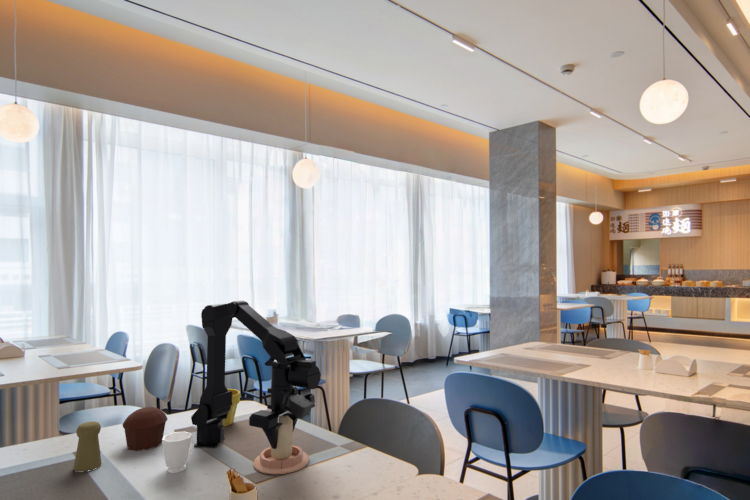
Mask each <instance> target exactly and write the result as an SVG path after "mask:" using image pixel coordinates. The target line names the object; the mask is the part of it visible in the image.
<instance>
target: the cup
mask: <svg viewBox="0 0 750 500" xmlns="http://www.w3.org/2000/svg"><path fill="white" fill-rule="evenodd" d="M161 444H162V449H163V450H162V451H163V458H164V461H165V466H166V467H167V469H166V471H167V472H168V473H171V474H173V473H181V472H182V471H185V469H186V467H187V465H186V463H187V462H188V460H189V457H190V456H191V453H192V451H193V448H194V439H193V434H192V433H191V432H188V431H184V430H183V431H174V432H171V433H168V434H165V435H163V439H162V443H161Z"/></svg>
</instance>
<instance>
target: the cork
mask: <svg viewBox="0 0 750 500" xmlns="http://www.w3.org/2000/svg"><path fill="white" fill-rule="evenodd" d="M101 430H102V426H101V424H100V422H99V421H96V420H95V421H86V422H82V423H80V424H79V425H78V427H77V429H76V431H75V432H76V434H75V435H76V436H77V438H78V441H77V448H76V454H75V459H74V463H73V464H74V465H73V469H74V470H75V471H88V470H92V471H94V470H93V469H95V468H97V469H99V468H100V467H102V465H101V464H103V463H102V456H101V448H100V440H99V434H100V432H101ZM98 467H99V468H98ZM95 470H96V469H95Z"/></svg>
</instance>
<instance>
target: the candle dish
mask: <svg viewBox="0 0 750 500" xmlns="http://www.w3.org/2000/svg"><path fill="white" fill-rule="evenodd" d="M309 461H310V458H309V455H308V453H306V452H305V451H304V450H303V449H302V448H301V446H296V445H294V444H292V455H291V456H290V457H288V458H285V459H274V458H272V457H271V446H269V447H267V448H263V450H261V452H260V454H259V455H257V457H256V458H254V460H253V469H255V470H256V471H257V472H259V473H262V474H266V475H287V474H291V473H295V472H298V471H300V470H302V469H304V468H305V467H306V466H307V465H308V464H309Z"/></svg>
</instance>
